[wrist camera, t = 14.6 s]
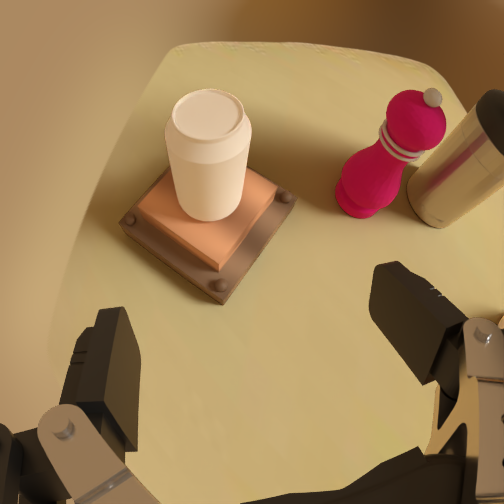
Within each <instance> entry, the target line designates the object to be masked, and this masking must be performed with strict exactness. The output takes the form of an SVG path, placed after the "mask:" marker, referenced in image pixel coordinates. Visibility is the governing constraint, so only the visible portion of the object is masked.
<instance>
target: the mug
mask: <svg viewBox="0 0 504 504" xmlns="http://www.w3.org/2000/svg"><path fill="white" fill-rule="evenodd" d="M498 327H499V328H500V329H504V316H503V317H502V318H501V320H500V322H499V324H498Z"/></svg>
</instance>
